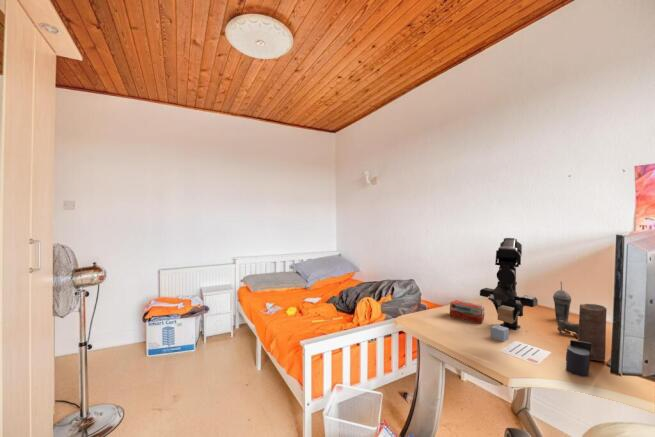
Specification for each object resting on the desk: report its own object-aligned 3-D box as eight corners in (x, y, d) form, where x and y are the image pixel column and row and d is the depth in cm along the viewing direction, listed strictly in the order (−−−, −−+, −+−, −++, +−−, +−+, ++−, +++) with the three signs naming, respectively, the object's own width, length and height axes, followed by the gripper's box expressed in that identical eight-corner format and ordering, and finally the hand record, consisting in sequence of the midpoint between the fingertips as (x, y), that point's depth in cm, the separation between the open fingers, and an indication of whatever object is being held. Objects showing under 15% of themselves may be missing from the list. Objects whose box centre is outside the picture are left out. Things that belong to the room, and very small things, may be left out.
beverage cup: (556, 321, 137) (556, 282, 137) (550, 317, 144) (550, 280, 144) (574, 324, 134) (574, 284, 134) (567, 319, 141) (567, 281, 141)
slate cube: (495, 335, 119) (495, 324, 119) (508, 339, 115) (508, 328, 115) (490, 338, 116) (490, 327, 116) (503, 342, 112) (503, 330, 112)
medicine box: (484, 319, 139) (484, 304, 139) (482, 324, 132) (482, 308, 132) (452, 313, 148) (453, 298, 148) (449, 317, 141) (449, 302, 141)
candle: (611, 365, 95) (612, 309, 95) (588, 363, 97) (588, 307, 97) (594, 354, 103) (594, 302, 103) (572, 353, 104) (573, 301, 104)
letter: (515, 341, 113) (515, 340, 113) (551, 353, 104) (551, 352, 104) (499, 351, 104) (499, 351, 104) (537, 365, 94) (537, 364, 94)
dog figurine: (556, 334, 122) (556, 317, 122) (557, 330, 126) (557, 314, 126) (593, 342, 113) (593, 325, 113) (593, 338, 117) (593, 321, 117)
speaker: (566, 363, 95) (568, 336, 94) (589, 371, 91) (591, 342, 90) (563, 373, 90) (565, 344, 89) (587, 382, 86) (590, 352, 85)
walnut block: (502, 317, 111) (502, 305, 111) (516, 320, 107) (516, 308, 107) (497, 319, 108) (497, 307, 108) (511, 323, 104) (511, 310, 104)
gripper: (473, 277, 110) (473, 315, 110) (528, 286, 95) (528, 330, 95) (485, 274, 117) (485, 310, 117) (538, 282, 102) (537, 323, 102)
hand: (506, 318), depth 108 cm, fingers closed on walnut block, 5 cm apart
